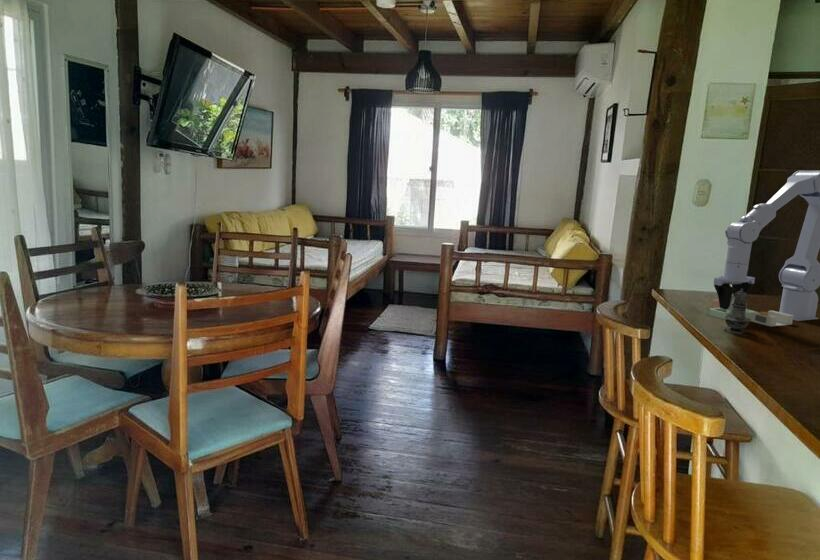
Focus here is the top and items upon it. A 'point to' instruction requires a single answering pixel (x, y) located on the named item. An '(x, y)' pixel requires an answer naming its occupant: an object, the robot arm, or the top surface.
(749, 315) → the trough
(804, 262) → the robot arm
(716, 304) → the cup
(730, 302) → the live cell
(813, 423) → the top surface
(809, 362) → the top surface
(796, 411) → the top surface
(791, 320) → the cradle
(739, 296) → the grey chess piece
